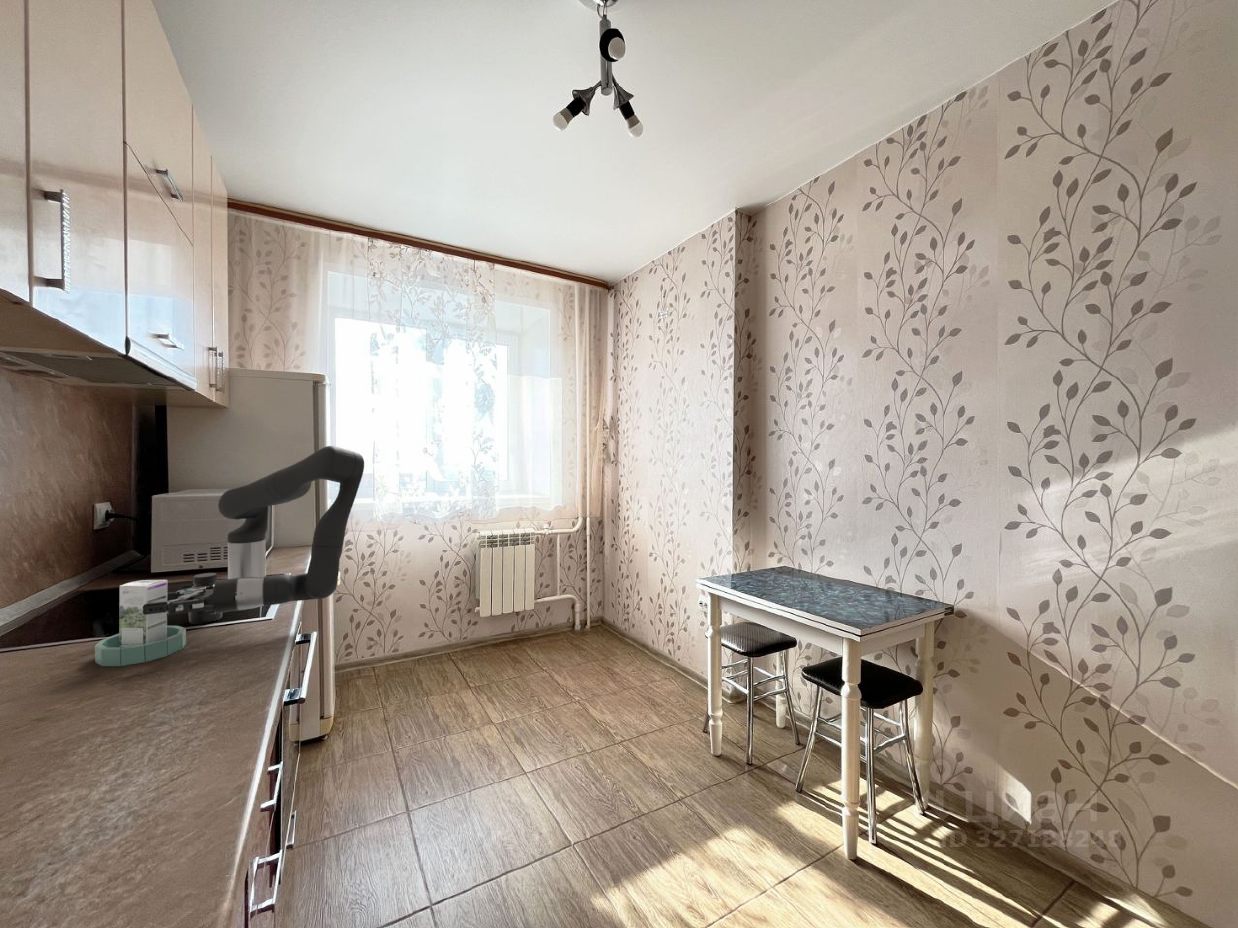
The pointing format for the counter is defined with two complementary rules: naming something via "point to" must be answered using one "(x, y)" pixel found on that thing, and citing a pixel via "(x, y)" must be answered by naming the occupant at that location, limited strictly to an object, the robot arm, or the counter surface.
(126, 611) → the syrup box
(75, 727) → the counter surface
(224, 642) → the counter surface
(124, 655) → the bowl
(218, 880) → the counter surface
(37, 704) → the counter surface
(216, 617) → the supplement bottle
